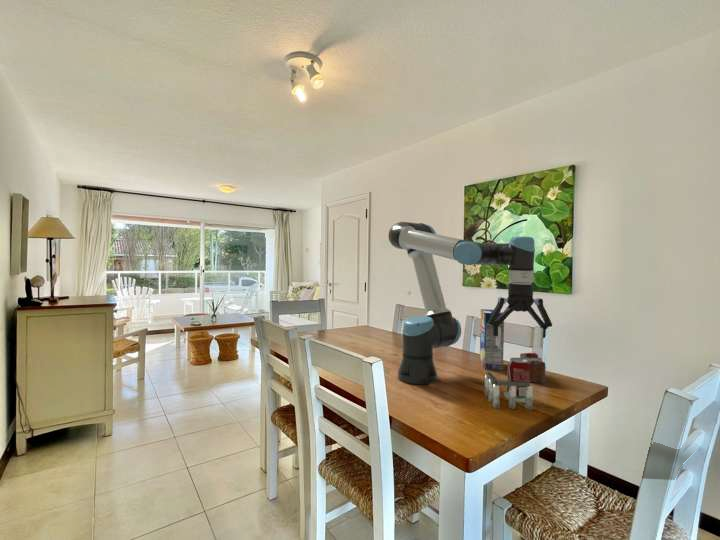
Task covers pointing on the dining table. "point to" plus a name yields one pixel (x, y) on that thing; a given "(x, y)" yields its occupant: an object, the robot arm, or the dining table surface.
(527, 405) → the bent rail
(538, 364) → the food item
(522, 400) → the coaster
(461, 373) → the dining table surface
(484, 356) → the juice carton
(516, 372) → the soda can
